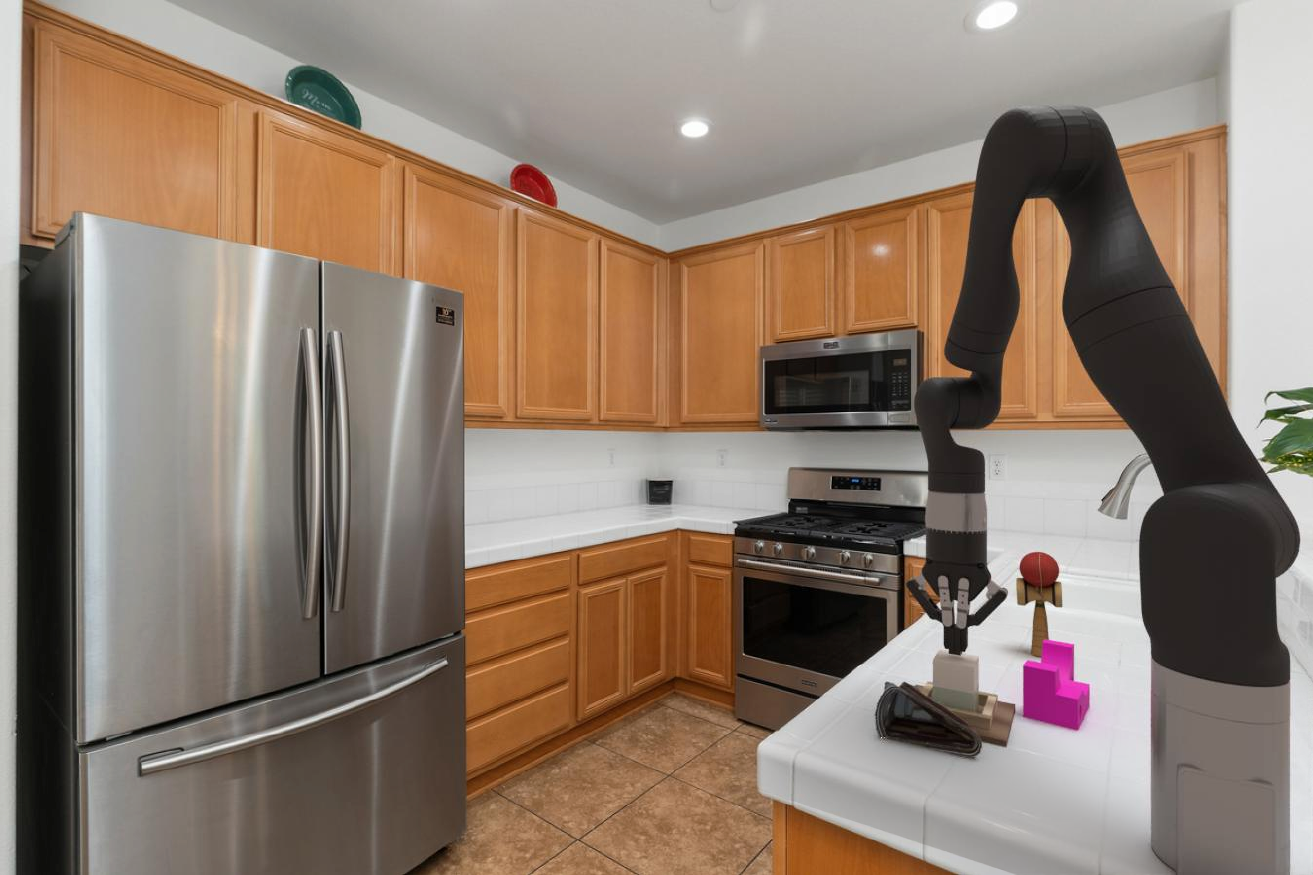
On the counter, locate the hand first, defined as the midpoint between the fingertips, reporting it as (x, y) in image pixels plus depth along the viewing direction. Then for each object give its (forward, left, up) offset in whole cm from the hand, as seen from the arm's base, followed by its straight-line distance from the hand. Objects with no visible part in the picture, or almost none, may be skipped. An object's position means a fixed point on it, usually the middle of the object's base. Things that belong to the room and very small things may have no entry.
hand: (955, 653), depth 88 cm
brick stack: (0, 0, -8) cm, 8 cm away
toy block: (+12, -12, -9) cm, 19 cm away
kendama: (+36, -8, -9) cm, 38 cm away
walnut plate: (0, 0, -9) cm, 9 cm away
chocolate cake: (-9, -2, -10) cm, 14 cm away
